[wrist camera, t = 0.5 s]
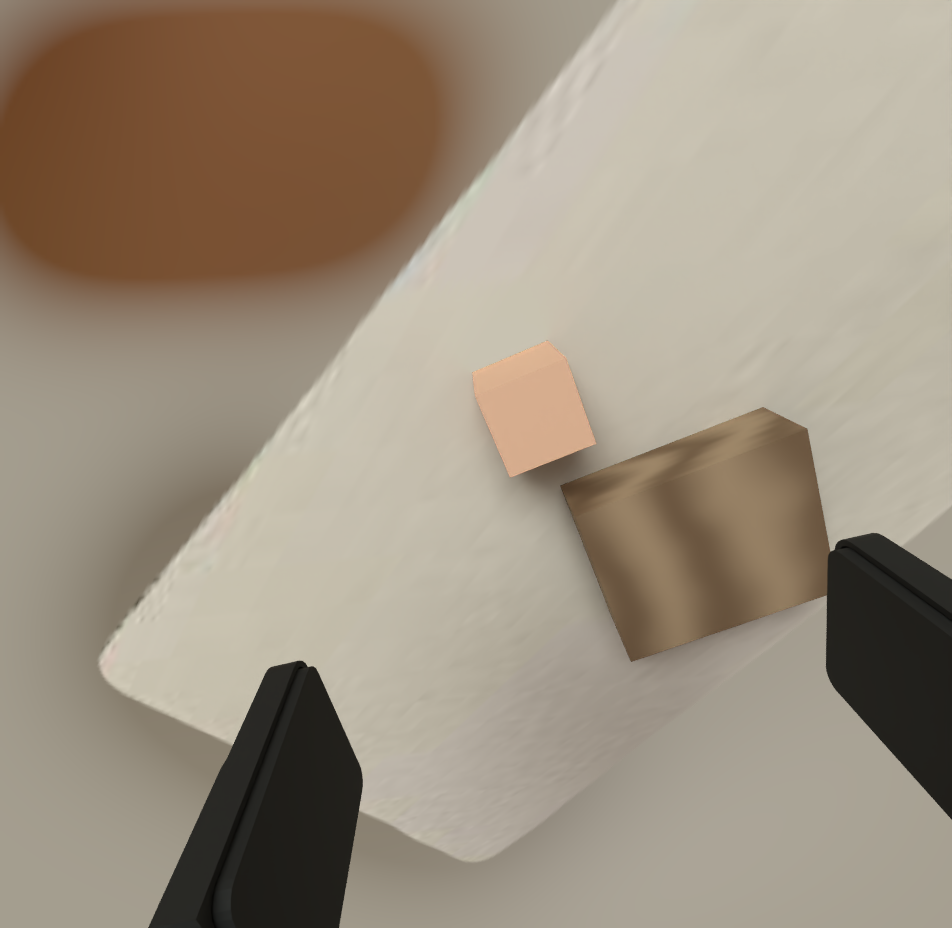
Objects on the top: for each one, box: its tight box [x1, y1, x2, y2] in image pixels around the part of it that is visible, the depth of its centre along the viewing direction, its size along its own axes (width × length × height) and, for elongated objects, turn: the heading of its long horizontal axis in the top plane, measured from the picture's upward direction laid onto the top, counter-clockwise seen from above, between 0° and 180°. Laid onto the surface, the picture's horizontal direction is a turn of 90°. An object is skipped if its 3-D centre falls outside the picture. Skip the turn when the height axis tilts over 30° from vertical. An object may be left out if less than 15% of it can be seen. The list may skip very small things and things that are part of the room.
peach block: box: [472, 341, 596, 478], centre depth 30 cm, size 5×5×6 cm
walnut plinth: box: [561, 407, 830, 662], centre depth 35 cm, size 14×12×5 cm
